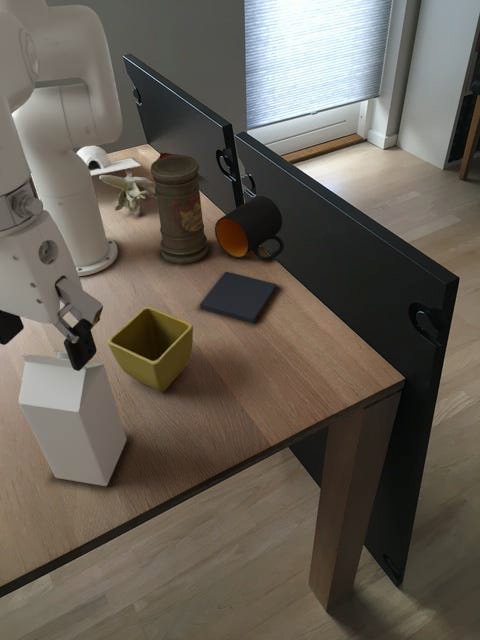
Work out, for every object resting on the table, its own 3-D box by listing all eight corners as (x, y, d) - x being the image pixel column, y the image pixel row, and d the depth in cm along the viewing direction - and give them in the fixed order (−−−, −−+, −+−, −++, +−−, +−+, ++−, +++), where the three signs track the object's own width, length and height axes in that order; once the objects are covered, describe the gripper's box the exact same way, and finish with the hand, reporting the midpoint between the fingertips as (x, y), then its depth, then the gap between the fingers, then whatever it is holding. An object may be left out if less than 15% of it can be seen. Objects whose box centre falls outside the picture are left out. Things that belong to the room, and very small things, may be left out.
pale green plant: (168, 225, 116) (101, 212, 108) (145, 207, 129) (82, 194, 121) (178, 186, 114) (110, 169, 106) (153, 171, 126) (90, 156, 118)
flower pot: (164, 408, 76) (155, 364, 70) (117, 384, 80) (105, 341, 74) (200, 368, 81) (194, 324, 75) (155, 348, 85) (146, 304, 79)
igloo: (48, 184, 114) (40, 158, 111) (50, 174, 131) (44, 152, 129) (141, 165, 118) (135, 141, 116) (131, 158, 136) (126, 137, 133)
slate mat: (200, 308, 92) (199, 304, 91) (226, 275, 98) (225, 271, 98) (253, 323, 88) (253, 319, 88) (276, 288, 95) (276, 284, 94)
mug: (284, 255, 108) (252, 280, 102) (243, 214, 109) (209, 235, 104) (302, 230, 101) (269, 255, 95) (258, 187, 103) (223, 208, 97)
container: (154, 259, 103) (138, 172, 91) (175, 235, 109) (163, 150, 97) (196, 268, 100) (185, 180, 88) (215, 243, 106) (208, 157, 94)
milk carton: (107, 487, 67) (69, 387, 54) (55, 478, 68) (5, 378, 56) (127, 440, 72) (96, 338, 59) (78, 432, 73) (38, 331, 61)
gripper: (102, 198, 44) (137, 347, 56) (-49, 166, 50) (10, 307, 62) (41, 245, 39) (93, 398, 51) (-119, 204, 45) (-40, 349, 57)
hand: (47, 348), depth 56 cm, fingers open, 9 cm apart
